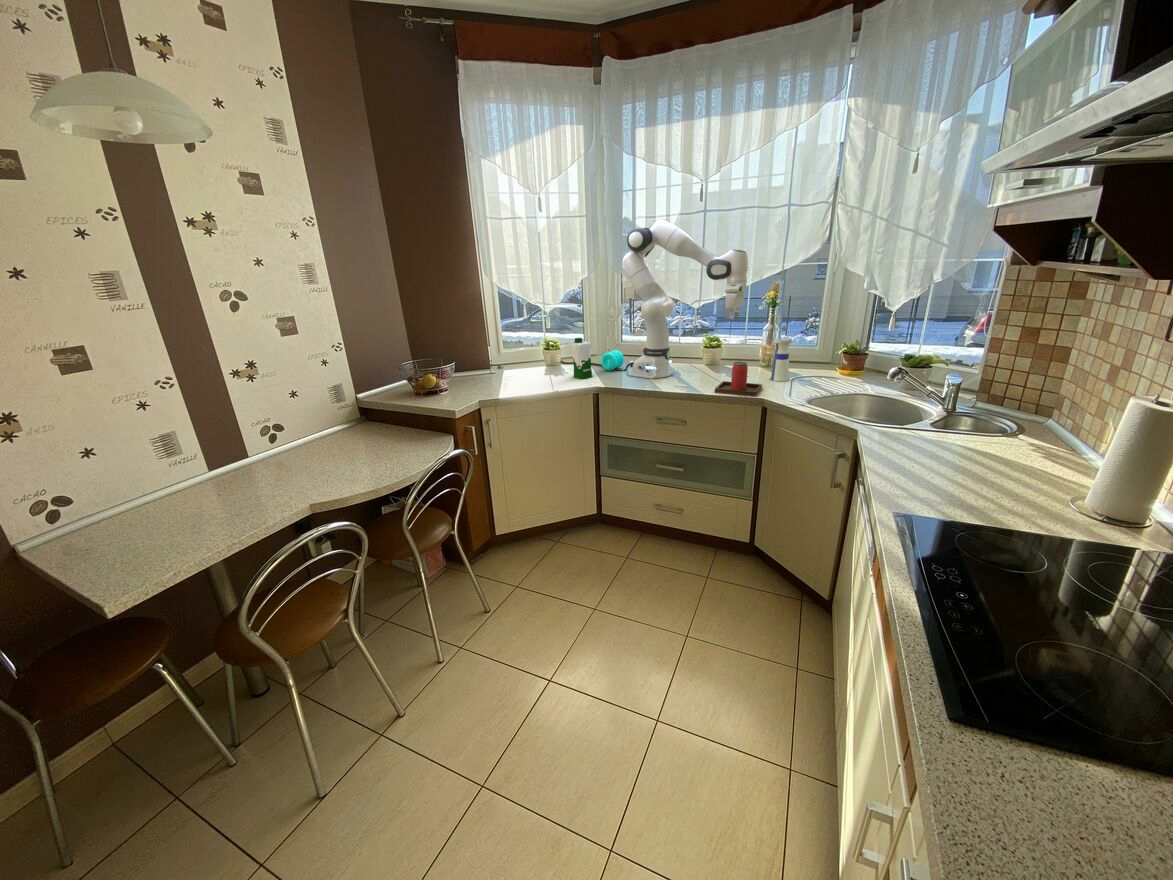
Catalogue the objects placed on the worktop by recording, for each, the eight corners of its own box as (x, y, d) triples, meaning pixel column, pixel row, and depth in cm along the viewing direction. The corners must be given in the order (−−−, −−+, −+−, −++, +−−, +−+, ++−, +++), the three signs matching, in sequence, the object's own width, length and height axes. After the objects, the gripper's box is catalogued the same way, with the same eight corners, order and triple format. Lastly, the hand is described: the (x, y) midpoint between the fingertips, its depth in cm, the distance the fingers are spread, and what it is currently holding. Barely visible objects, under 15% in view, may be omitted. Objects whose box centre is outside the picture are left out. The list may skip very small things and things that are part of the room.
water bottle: (766, 377, 232) (771, 325, 223) (783, 376, 233) (788, 324, 224) (774, 382, 224) (779, 328, 215) (791, 380, 225) (797, 327, 216)
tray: (714, 392, 212) (714, 388, 212) (722, 385, 223) (722, 381, 223) (755, 396, 204) (755, 392, 203) (761, 388, 215) (762, 384, 214)
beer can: (746, 391, 210) (748, 364, 206) (731, 391, 211) (733, 364, 207) (745, 387, 216) (747, 361, 212) (730, 387, 217) (731, 361, 213)
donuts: (625, 368, 265) (625, 350, 261) (615, 372, 258) (614, 353, 254) (610, 366, 271) (610, 348, 267) (600, 370, 264) (599, 352, 260)
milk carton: (583, 374, 257) (581, 336, 249) (595, 376, 250) (593, 338, 243) (571, 377, 251) (568, 339, 244) (582, 379, 245) (580, 340, 238)
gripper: (734, 285, 230) (732, 314, 235) (723, 288, 213) (721, 320, 218) (748, 285, 227) (745, 315, 232) (738, 288, 210) (735, 320, 215)
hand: (734, 317), depth 225 cm, fingers open, 8 cm apart
